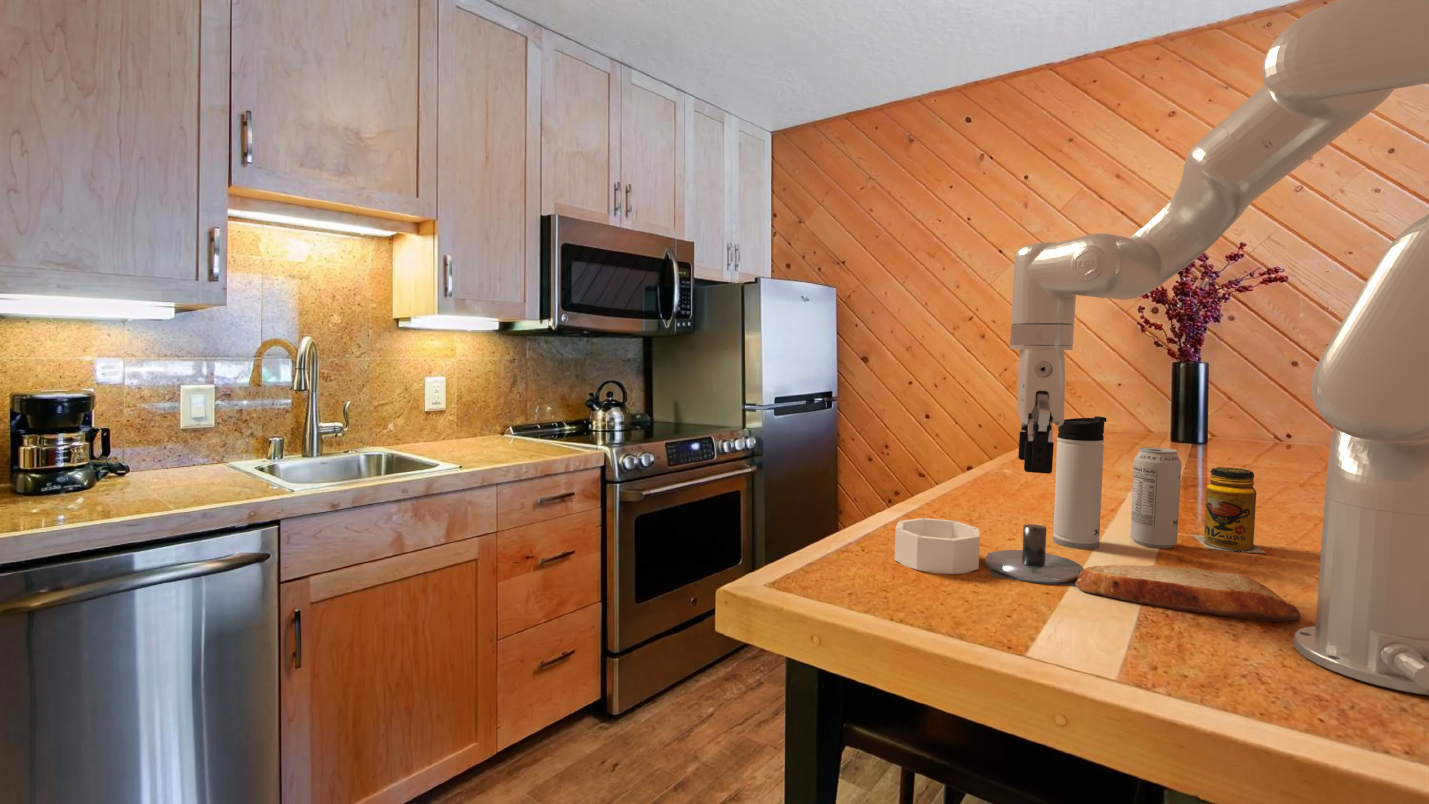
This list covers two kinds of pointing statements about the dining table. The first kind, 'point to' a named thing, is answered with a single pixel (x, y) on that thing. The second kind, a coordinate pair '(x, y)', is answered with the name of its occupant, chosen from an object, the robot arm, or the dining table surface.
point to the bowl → (937, 546)
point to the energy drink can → (1155, 497)
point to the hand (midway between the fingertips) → (1034, 465)
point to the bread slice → (1188, 591)
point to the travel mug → (1079, 483)
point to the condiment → (1230, 511)
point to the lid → (1034, 561)
